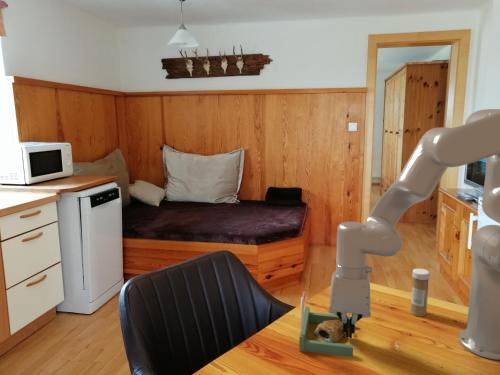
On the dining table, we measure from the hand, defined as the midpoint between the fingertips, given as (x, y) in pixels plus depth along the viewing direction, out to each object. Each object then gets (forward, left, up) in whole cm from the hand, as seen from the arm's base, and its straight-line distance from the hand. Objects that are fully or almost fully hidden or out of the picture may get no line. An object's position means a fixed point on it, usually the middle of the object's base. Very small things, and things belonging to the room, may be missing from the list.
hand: (348, 334), depth 103 cm
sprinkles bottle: (-21, -18, -2) cm, 28 cm away
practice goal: (+5, 0, -1) cm, 5 cm away
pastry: (+5, -2, -2) cm, 5 cm away
